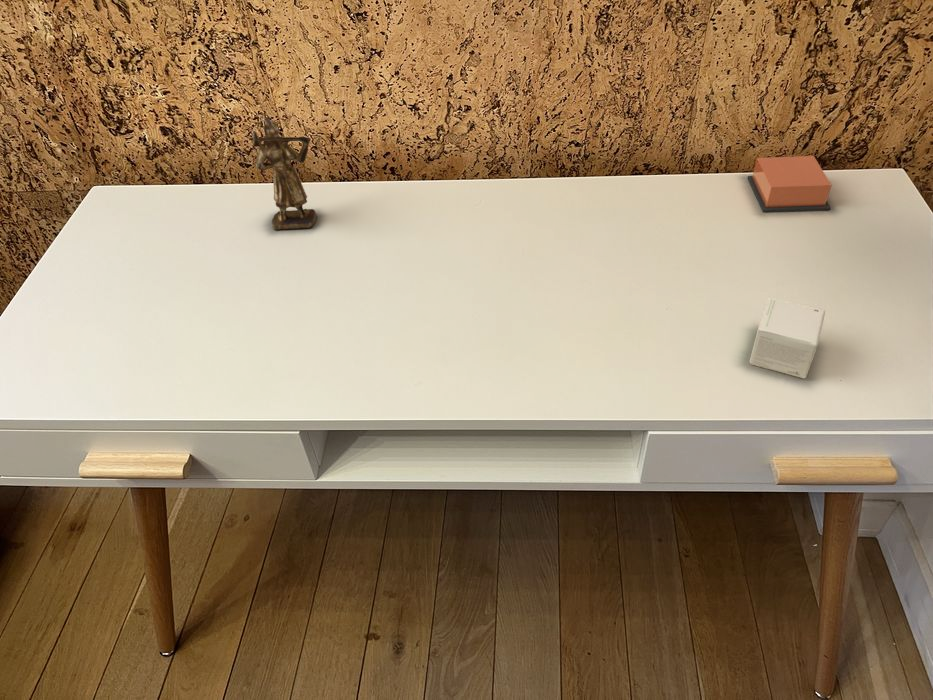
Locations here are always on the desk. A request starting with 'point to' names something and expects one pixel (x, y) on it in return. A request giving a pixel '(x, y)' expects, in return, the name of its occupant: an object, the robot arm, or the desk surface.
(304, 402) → the desk surface
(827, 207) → the mat
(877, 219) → the desk surface
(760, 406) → the desk surface
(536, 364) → the desk surface
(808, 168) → the orange flat block
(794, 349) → the small box
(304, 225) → the figurine
